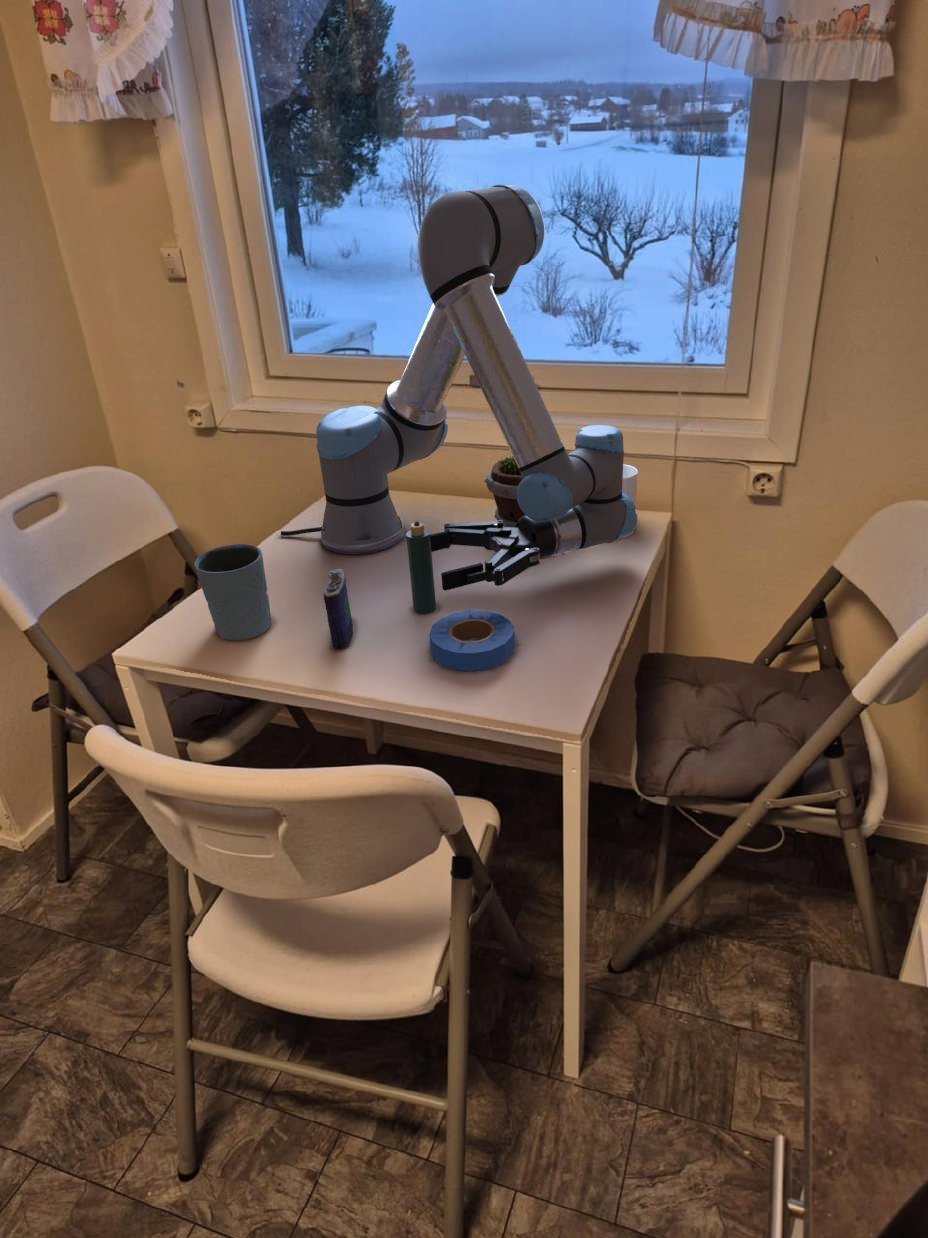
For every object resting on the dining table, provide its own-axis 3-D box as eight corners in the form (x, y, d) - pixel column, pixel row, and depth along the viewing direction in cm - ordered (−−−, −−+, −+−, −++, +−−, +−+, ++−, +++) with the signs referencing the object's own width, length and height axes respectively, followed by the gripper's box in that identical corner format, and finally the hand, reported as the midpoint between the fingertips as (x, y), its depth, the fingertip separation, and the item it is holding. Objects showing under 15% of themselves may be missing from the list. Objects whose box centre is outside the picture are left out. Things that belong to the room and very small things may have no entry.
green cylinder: (409, 611, 135) (399, 524, 127) (422, 601, 137) (413, 515, 130) (428, 616, 133) (419, 528, 126) (440, 605, 136) (433, 519, 128)
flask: (337, 619, 134) (327, 557, 129) (355, 618, 134) (347, 556, 128) (330, 650, 126) (320, 586, 121) (350, 649, 126) (340, 585, 120)
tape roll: (415, 658, 122) (413, 641, 121) (459, 620, 131) (458, 603, 130) (488, 679, 117) (487, 661, 115) (528, 638, 125) (528, 620, 124)
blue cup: (245, 648, 128) (229, 577, 122) (196, 635, 132) (178, 565, 126) (289, 617, 135) (276, 549, 129) (241, 605, 140) (226, 538, 134)
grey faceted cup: (635, 531, 156) (637, 479, 151) (591, 530, 157) (592, 478, 152) (636, 514, 162) (638, 463, 157) (594, 513, 164) (595, 463, 159)
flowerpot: (566, 543, 153) (565, 434, 143) (481, 541, 156) (475, 434, 146) (571, 511, 165) (571, 409, 155) (493, 510, 168) (488, 410, 158)
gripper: (586, 585, 130) (459, 620, 123) (512, 528, 150) (400, 556, 143) (587, 540, 127) (456, 574, 120) (511, 488, 147) (395, 514, 140)
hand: (425, 564), depth 132 cm, fingers open, 13 cm apart
